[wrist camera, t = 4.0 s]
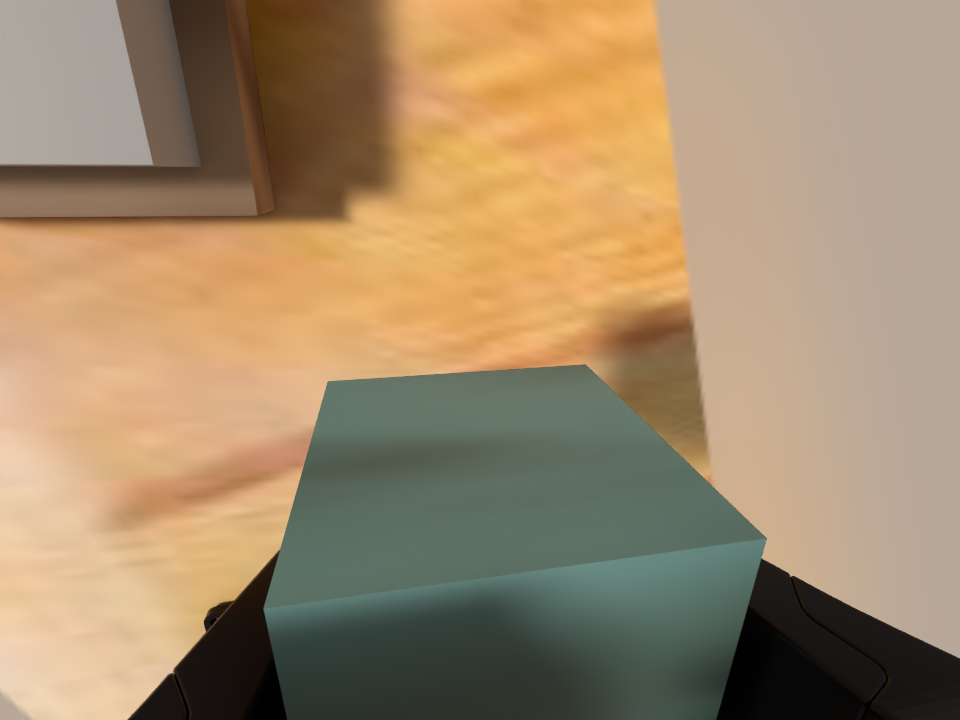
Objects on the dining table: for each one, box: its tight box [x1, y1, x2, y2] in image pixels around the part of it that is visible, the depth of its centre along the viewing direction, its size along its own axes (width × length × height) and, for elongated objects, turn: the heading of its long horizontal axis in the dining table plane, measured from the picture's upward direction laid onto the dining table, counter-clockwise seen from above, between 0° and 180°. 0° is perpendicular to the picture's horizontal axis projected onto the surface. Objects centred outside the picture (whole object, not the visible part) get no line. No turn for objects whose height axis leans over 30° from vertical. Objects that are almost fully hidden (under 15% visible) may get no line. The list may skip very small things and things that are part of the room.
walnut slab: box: [0, 0, 275, 217], centre depth 13 cm, size 10×10×3 cm
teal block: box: [264, 365, 767, 720], centre depth 8 cm, size 5×5×5 cm
